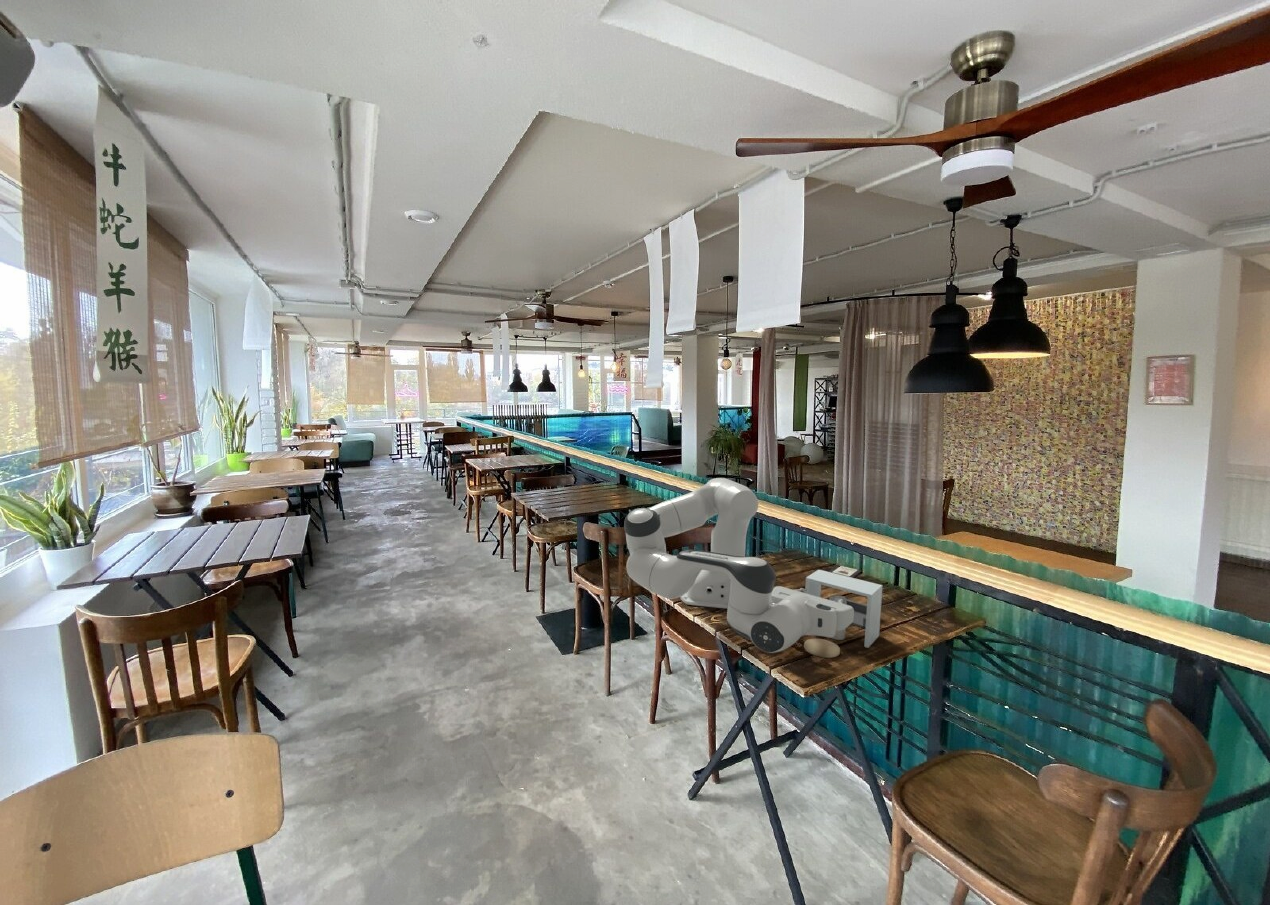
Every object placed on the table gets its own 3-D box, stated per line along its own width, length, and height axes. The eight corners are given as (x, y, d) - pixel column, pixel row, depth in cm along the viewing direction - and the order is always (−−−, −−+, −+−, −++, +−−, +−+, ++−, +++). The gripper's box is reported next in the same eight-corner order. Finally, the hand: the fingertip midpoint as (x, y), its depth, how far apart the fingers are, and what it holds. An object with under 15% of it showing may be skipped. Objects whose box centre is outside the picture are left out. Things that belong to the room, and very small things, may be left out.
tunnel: (868, 647, 136) (871, 594, 134) (803, 626, 148) (805, 577, 146) (879, 635, 142) (882, 585, 141) (816, 616, 154) (818, 569, 153)
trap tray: (866, 628, 147) (867, 619, 146) (831, 618, 153) (832, 608, 153) (877, 617, 154) (878, 608, 154) (844, 607, 161) (844, 598, 160)
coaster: (809, 657, 131) (809, 655, 131) (799, 640, 140) (799, 638, 140) (845, 658, 131) (845, 656, 130) (832, 640, 139) (833, 638, 139)
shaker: (830, 639, 140) (832, 601, 139) (824, 631, 145) (826, 594, 144) (847, 640, 140) (850, 601, 139) (841, 631, 145) (843, 594, 143)
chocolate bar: (819, 577, 185) (837, 565, 198) (818, 580, 185) (837, 567, 198) (844, 584, 179) (861, 570, 192) (844, 586, 179) (861, 573, 192)
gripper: (758, 613, 129) (783, 596, 139) (839, 640, 115) (861, 619, 125) (759, 589, 128) (784, 574, 138) (841, 613, 114) (862, 595, 124)
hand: (821, 596), depth 131 cm, fingers open, 8 cm apart
